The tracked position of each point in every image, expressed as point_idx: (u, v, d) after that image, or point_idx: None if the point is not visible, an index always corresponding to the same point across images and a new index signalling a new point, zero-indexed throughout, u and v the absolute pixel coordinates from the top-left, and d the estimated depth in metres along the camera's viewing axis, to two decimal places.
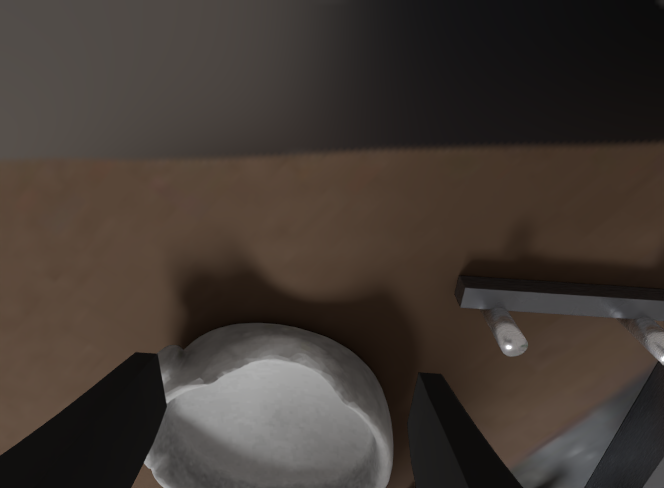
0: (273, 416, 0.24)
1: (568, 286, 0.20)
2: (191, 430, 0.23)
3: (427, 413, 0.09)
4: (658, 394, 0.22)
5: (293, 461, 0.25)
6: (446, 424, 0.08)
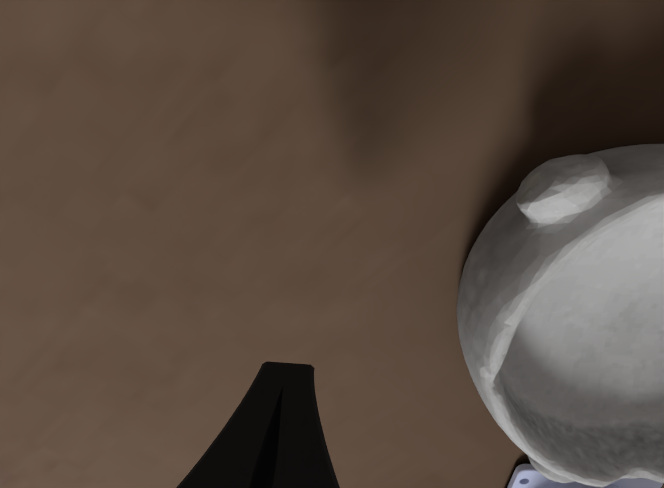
0: (621, 313, 0.15)
1: None
2: None
3: (282, 402, 0.09)
4: None
5: (633, 387, 0.16)
6: (286, 413, 0.08)
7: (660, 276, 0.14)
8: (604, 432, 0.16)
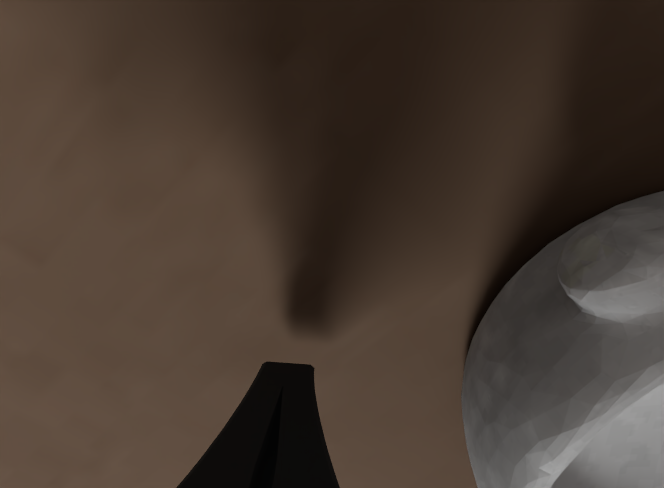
0: None
1: None
2: None
3: (282, 402, 0.09)
4: None
5: None
6: (286, 413, 0.08)
7: None
8: None
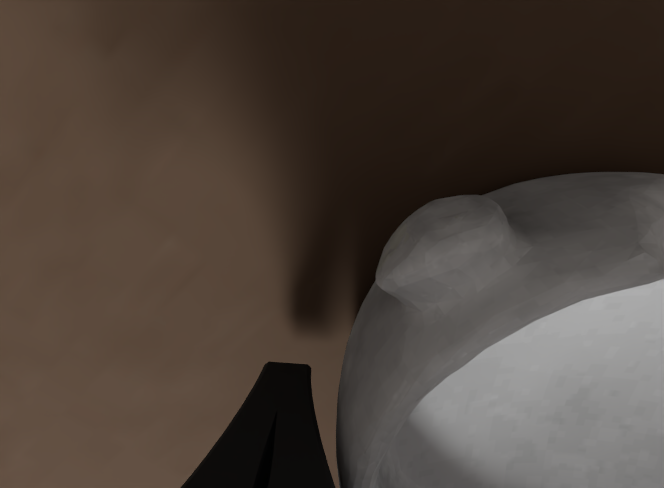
0: (569, 402, 0.11)
1: None
2: (404, 429, 0.10)
3: None
4: None
5: None
6: (282, 413, 0.08)
7: (620, 357, 0.10)
8: None
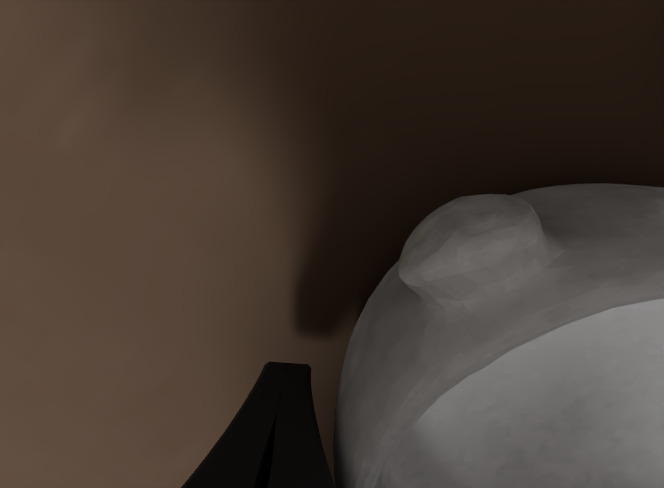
0: (564, 411, 0.11)
1: None
2: None
3: None
4: None
5: None
6: (282, 413, 0.08)
7: (619, 369, 0.10)
8: None
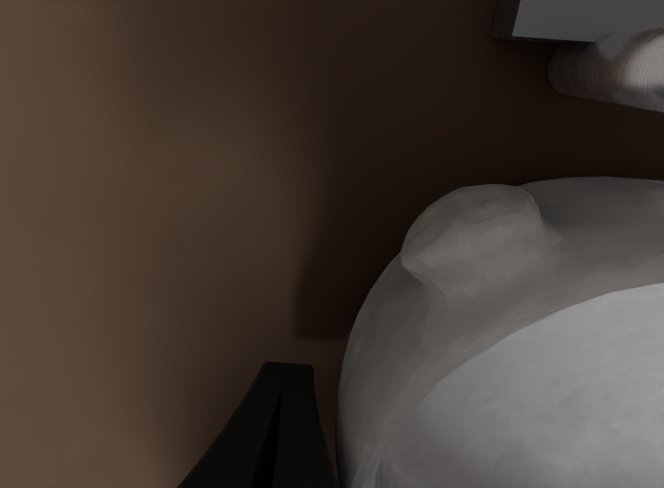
0: (562, 402, 0.11)
1: None
2: None
3: None
4: None
5: None
6: (285, 413, 0.08)
7: (616, 361, 0.10)
8: None
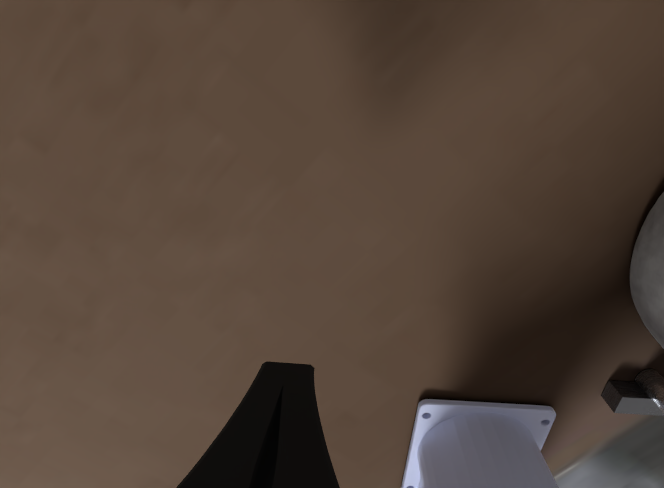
0: None
1: None
2: None
3: (282, 403, 0.09)
4: None
5: None
6: (286, 413, 0.08)
7: None
8: None
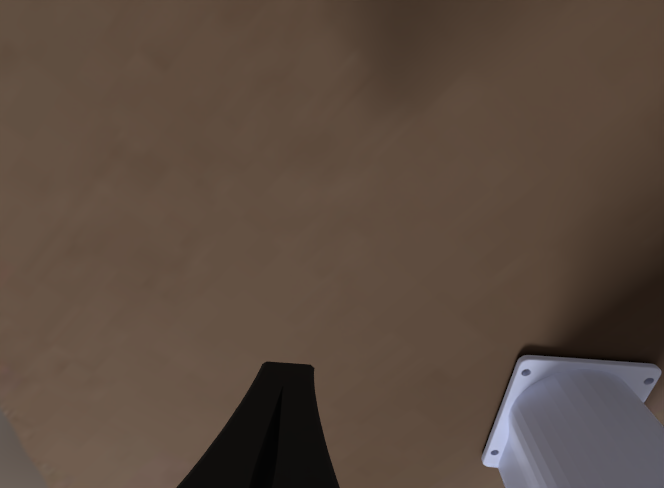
0: None
1: None
2: None
3: (282, 403, 0.09)
4: None
5: None
6: (286, 413, 0.08)
7: None
8: None
